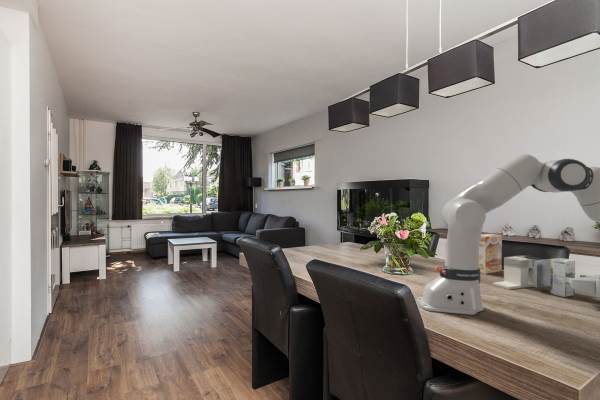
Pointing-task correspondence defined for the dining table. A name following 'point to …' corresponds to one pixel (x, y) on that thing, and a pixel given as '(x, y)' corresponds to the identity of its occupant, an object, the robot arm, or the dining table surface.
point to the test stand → (517, 273)
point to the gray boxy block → (541, 271)
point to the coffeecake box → (490, 253)
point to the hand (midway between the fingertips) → (573, 277)
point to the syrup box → (561, 277)
